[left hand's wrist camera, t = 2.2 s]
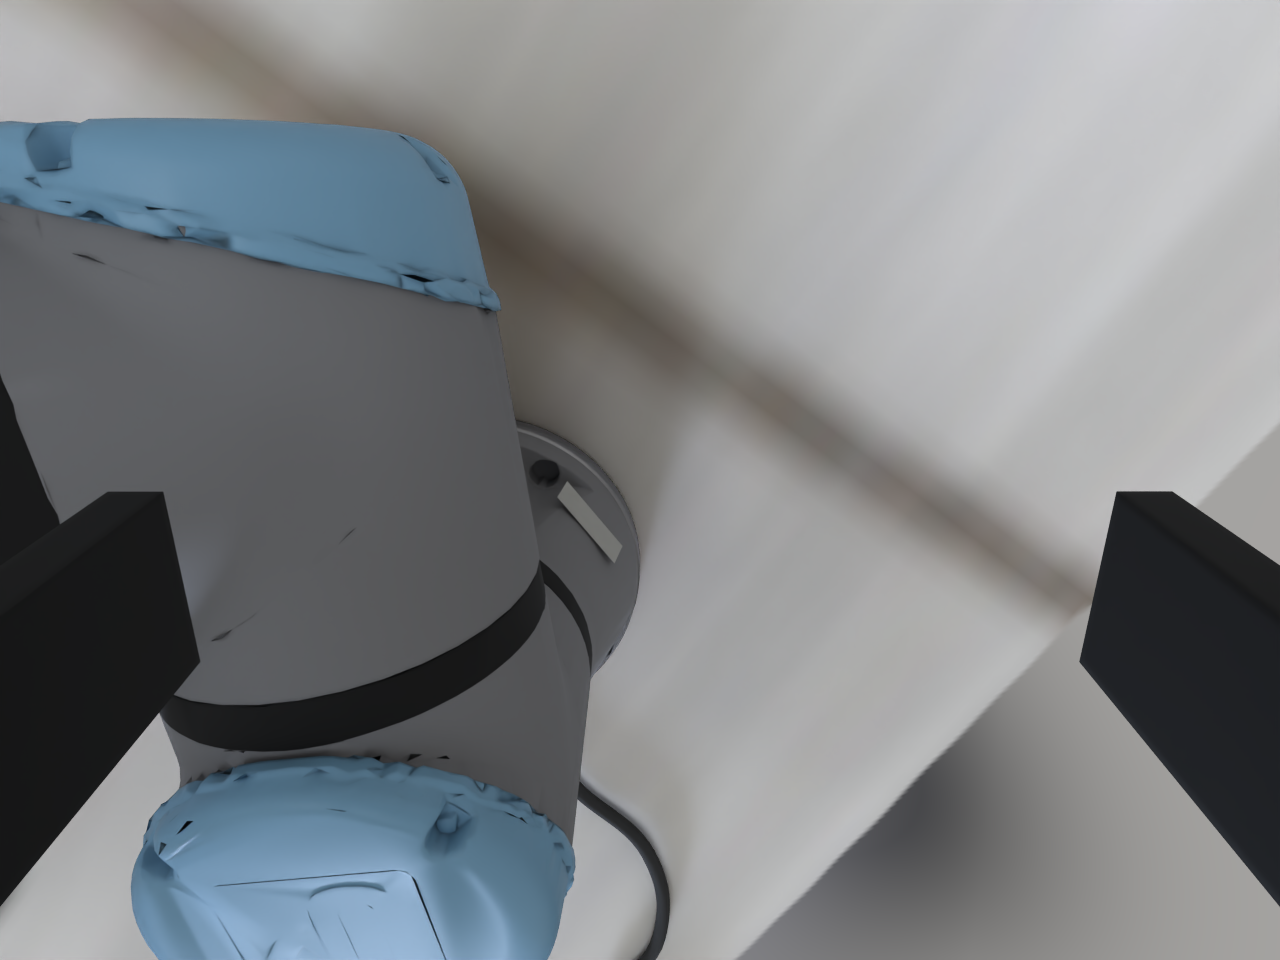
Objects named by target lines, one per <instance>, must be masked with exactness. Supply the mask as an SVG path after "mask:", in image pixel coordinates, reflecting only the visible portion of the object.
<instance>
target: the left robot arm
mask: <svg viewBox="0 0 1280 960" xmlns="http://www.w3.org/2000/svg"><path fill="white" fill-rule="evenodd" d="M499 310H501V306H500V300H499V298H498V296H497V294H496V293H495V292H494V291H493V290H492V289H491V288H490V287H489V284H488V280H487V277H486V272H485V268H484V264H483V260H482V255H481V251H480V247H479V243H478V239H477V234H476V230H475V226H474V222H473V217H472V213H471V209H470V205H469V200H468V196H467V193H466V190H465V187H464V185H463V183H462V181H461V179H460V177H459V175H458V174H457V172H456V171H455V169H454V168H453V166H452V165H451V164H450V163H449V162H448V161H447V159H446V158H445V157H444V156H442V155H441V154H440V153H439V152H438V151H436V150H435V149H433V148H432V147H431V146H429V145H427V144H425V143H424V142H422V141H420V140H418V139H416V138H413V137H411V136H407V135H404V134H400V133H396V132H391V131H386V130H379V129H371V128H362V127H353V126H343V125H331V124H315V123H300V122H283V121H263V120H234V119H192V118H114V119H88V120H86V121H84V122H82V123H76V122H70V121H56V122H45V123H26V122H15V121H6V122H0V906H1V905H2V904H3V902H4V901H5V900H6V899H7V898H8V896H9V895H10V894H11V893H12V892H13V890H14V889H15V888H16V887H17V885H18V884H19V883H20V882H21V881H22V879H23V878H24V877H25V876H26V874H27V873H28V872H29V871H30V870H31V868H32V867H33V866H34V865H35V863H36V862H37V861H38V860H39V859H40V857H41V856H42V855H43V854H44V852H45V851H46V850H47V849H48V848H49V846H50V845H51V844H52V843H53V841H54V840H55V839H56V838H57V837H58V835H59V834H60V833H61V832H62V830H63V829H64V828H65V827H66V826H67V824H68V823H69V822H70V821H71V819H72V818H73V817H74V816H75V815H76V813H77V812H78V811H79V810H80V808H81V807H82V806H83V805H84V804H85V802H86V801H87V800H88V799H89V797H90V796H91V795H92V794H93V793H94V791H95V790H96V789H97V788H98V787H99V785H100V784H101V783H102V782H103V780H104V779H105V778H106V777H107V776H108V774H109V773H110V772H111V771H112V769H113V768H114V767H115V766H116V765H117V763H118V762H119V761H120V760H121V758H122V757H123V756H124V755H125V754H126V752H127V751H128V750H129V749H130V747H131V746H132V745H133V744H134V743H135V741H136V740H137V739H138V738H139V736H140V735H141V734H142V733H143V732H144V730H145V729H146V728H147V727H148V725H149V724H150V723H151V722H152V721H153V719H154V718H155V717H156V716H157V714H158V713H160V715H161V718H162V721H163V724H164V726H165V729H166V731H167V734H168V736H169V739H170V741H171V744H172V746H173V749H174V751H175V754H176V756H177V759H178V762H179V766H180V779H181V781H180V787H179V790H178V791H177V792H176V793H175V794H174V795H173V796H172V797H171V798H170V799H169V800H168V801H166V802H165V803H163V804H161V806H160V807H159V809H158V810H157V811H156V812H155V813H154V815H153V816H152V817H151V818H150V820H149V823H148V827H147V831H146V833H145V835H144V840H143V848H142V850H141V852H140V854H139V856H138V858H137V860H136V863H135V866H134V869H133V873H132V881H131V896H132V906H133V912H134V916H135V919H136V922H137V925H138V927H139V929H140V932H141V934H142V936H143V938H144V939H145V941H146V943H147V945H148V946H149V948H150V949H151V950H152V951H153V953H154V954H155V955H156V956H157V958H158V959H159V960H547V959H548V957H549V955H550V953H551V951H552V948H553V946H554V943H555V940H556V937H557V933H558V929H559V924H560V919H561V913H562V908H563V903H564V898H565V896H566V895H567V891H568V890H569V889H570V888H571V887H572V884H573V881H574V876H573V874H574V871H575V855H574V850H573V848H572V843H573V834H574V825H575V816H576V807H577V799H578V800H579V801H580V802H581V803H583V804H584V805H585V806H586V807H588V808H589V809H590V810H592V811H593V812H594V813H596V814H597V815H598V816H600V817H601V818H603V819H604V820H605V821H607V822H608V823H610V824H611V825H612V826H614V827H615V828H616V829H618V830H619V831H620V832H621V833H622V834H623V835H625V836H626V837H627V838H628V839H629V840H630V841H631V842H632V843H633V845H634V846H635V847H636V848H637V850H638V851H639V853H640V855H641V856H642V858H643V860H644V862H645V864H646V866H647V868H648V870H649V872H650V875H651V877H652V880H653V884H654V887H655V892H656V898H657V914H656V922H655V928H654V932H653V936H652V939H651V942H650V944H649V946H648V947H647V949H646V951H645V952H644V953H643V955H642V956H641V957H640V958H639V959H638V960H656V958H657V957H658V955H659V953H660V951H661V950H662V947H663V944H664V942H665V938H666V934H667V929H668V922H669V912H670V899H669V889H668V884H667V880H666V877H665V873H664V871H663V868H662V865H661V863H660V861H659V859H658V857H657V855H656V853H655V851H654V849H653V848H652V846H651V844H650V843H649V841H648V840H647V839H646V837H645V836H644V835H643V834H642V833H641V832H640V831H639V830H638V829H637V828H636V827H635V826H634V825H633V824H632V823H631V822H630V821H629V820H627V819H626V818H625V817H623V816H622V815H621V814H620V813H618V812H617V811H615V810H614V809H613V808H611V807H610V806H609V805H607V804H606V803H604V802H603V801H602V800H600V799H599V798H598V797H596V796H595V795H594V794H593V793H591V792H590V791H589V790H588V789H587V788H586V787H585V786H584V785H583V784H582V783H581V782H580V781H579V780H580V771H581V762H582V753H583V744H584V735H585V726H586V717H587V708H588V699H589V690H590V679H591V678H592V676H593V675H594V673H595V672H597V671H598V670H599V668H600V667H601V666H602V665H603V664H604V663H605V662H606V660H607V659H608V658H609V657H610V655H611V654H612V653H613V652H614V650H615V649H616V647H617V646H618V644H619V643H620V641H621V639H622V637H623V635H624V633H625V631H626V629H627V627H628V624H629V621H630V618H631V616H632V613H633V609H634V606H635V603H636V598H637V593H638V586H639V572H640V553H639V544H638V538H637V534H636V529H635V525H634V523H633V520H632V517H631V514H630V512H629V509H628V507H627V505H626V503H625V501H624V499H623V497H622V496H621V494H620V492H619V491H618V489H617V488H616V486H615V485H614V484H613V482H612V481H611V480H610V478H609V477H608V476H607V475H606V473H605V472H604V471H603V470H602V469H601V468H600V467H599V466H598V465H597V464H596V463H595V462H594V461H593V460H592V459H591V458H590V457H588V456H587V455H586V454H585V453H584V452H582V451H581V450H580V449H578V448H577V447H576V446H574V445H573V444H571V443H569V442H568V441H566V440H564V439H563V438H561V437H559V436H557V435H555V434H553V433H551V432H549V431H547V430H545V429H542V428H539V427H537V426H534V425H531V424H528V423H524V422H521V421H517V420H515V415H514V410H513V404H512V399H511V393H510V387H509V382H508V376H507V371H506V365H505V360H504V354H503V348H502V343H501V337H500V332H499V326H498V320H497V315H496V311H499ZM1080 663H1081V664H1082V666H1083V667H1084V668H1085V669H1086V670H1087V672H1088V673H1089V674H1090V675H1091V677H1092V678H1093V679H1094V680H1095V682H1096V683H1097V684H1098V685H1099V686H1100V688H1101V689H1102V690H1103V691H1104V692H1105V694H1106V695H1107V696H1108V697H1109V699H1110V700H1111V701H1112V702H1113V703H1114V705H1115V706H1116V707H1117V708H1118V710H1119V711H1120V712H1121V713H1122V714H1123V716H1124V717H1125V718H1126V719H1127V721H1128V722H1129V723H1130V724H1131V725H1132V727H1133V728H1134V729H1135V730H1136V732H1137V733H1138V734H1139V735H1140V736H1141V738H1142V739H1143V740H1144V741H1145V743H1146V744H1147V745H1148V746H1149V747H1150V749H1151V750H1152V751H1153V752H1154V754H1155V755H1156V756H1157V757H1158V758H1159V760H1160V761H1161V762H1162V763H1163V765H1164V766H1165V767H1166V768H1167V769H1168V771H1169V772H1170V773H1171V774H1172V775H1173V777H1174V778H1175V779H1176V780H1177V782H1178V783H1179V784H1180V785H1181V786H1182V788H1183V789H1184V790H1185V791H1186V793H1187V794H1188V795H1189V796H1190V797H1191V799H1192V800H1193V801H1194V802H1195V804H1196V805H1197V806H1198V807H1199V808H1200V810H1201V811H1202V812H1203V813H1204V815H1205V816H1206V817H1207V818H1208V819H1209V821H1210V822H1211V823H1212V824H1213V826H1214V827H1215V828H1216V829H1217V830H1218V832H1219V833H1220V834H1221V835H1222V837H1223V838H1224V839H1225V840H1226V841H1227V843H1228V844H1229V845H1230V846H1231V848H1232V849H1233V850H1234V851H1235V852H1236V854H1237V855H1238V856H1239V857H1240V859H1241V860H1242V861H1243V862H1244V863H1245V865H1246V866H1247V867H1248V868H1249V870H1250V871H1251V872H1252V873H1253V874H1254V876H1255V877H1256V878H1257V879H1258V880H1259V882H1260V883H1261V884H1262V885H1263V887H1264V888H1265V889H1266V890H1267V892H1268V893H1269V894H1270V895H1271V896H1272V898H1273V899H1274V900H1275V901H1276V902H1277V904H1278V905H1279V906H1280V565H1278V564H1277V563H1275V562H1274V561H1273V560H1271V559H1270V558H1268V557H1267V556H1265V555H1264V554H1262V553H1261V552H1259V551H1258V550H1257V549H1255V548H1254V547H1252V546H1251V545H1249V544H1248V543H1246V542H1245V541H1243V540H1242V539H1241V538H1239V537H1238V536H1236V535H1235V534H1233V533H1232V532H1230V531H1229V530H1228V529H1226V528H1225V527H1223V526H1222V525H1220V524H1219V523H1217V522H1216V521H1214V520H1213V519H1212V518H1210V517H1209V516H1207V515H1206V514H1204V513H1203V512H1201V511H1200V510H1198V509H1197V508H1196V507H1194V506H1193V505H1191V504H1190V503H1188V502H1187V501H1185V500H1184V499H1182V498H1181V497H1180V496H1178V495H1177V494H1175V493H1174V492H1116V497H1115V501H1114V506H1113V510H1112V515H1111V520H1110V524H1109V529H1108V533H1107V538H1106V543H1105V547H1104V552H1103V556H1102V561H1101V565H1100V570H1099V575H1098V579H1097V584H1096V588H1095V593H1094V597H1093V602H1092V607H1091V611H1090V616H1089V621H1088V625H1087V630H1086V634H1085V639H1084V643H1083V648H1082V653H1081V657H1080Z"/></svg>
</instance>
